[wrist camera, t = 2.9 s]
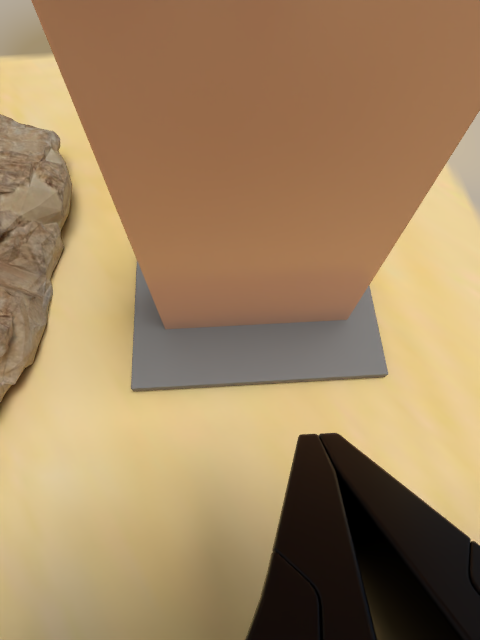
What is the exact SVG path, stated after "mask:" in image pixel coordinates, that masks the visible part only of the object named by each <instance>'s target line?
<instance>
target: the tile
mask: <svg viewBox="0 0 480 640" xmlns="http://www.w3.org/2000/svg"><path fill="white" fill-rule="evenodd" d="M32 3H33V5H34V7H35V10H36V13H37V15H38V17H39V20H40V22H41V25H42V27H43V30H44V32H45V35H46V37H47V40H48V42H49V45H50V47H51V49H52V52H53V54H54V57H55V59H56V62H57V64H58V67H59V69H60V72H61V74H62V77H63V79H64V81H65V84H66V86H67V89H68V91H69V94H70V96H71V99H72V101H73V104H74V106H75V108H76V111H77V113H78V116H79V118H80V121H81V123H82V126H83V128H84V131H85V133H86V136H87V138H88V140H89V143H90V145H91V148H92V150H93V153H94V155H95V158H96V160H97V163H98V165H99V167H100V170H101V172H102V175H103V177H104V180H105V182H106V185H107V187H108V190H109V192H110V195H111V197H112V199H113V202H114V204H115V207H116V209H117V212H118V214H119V217H120V219H121V222H122V224H123V226H124V229H125V231H126V234H127V236H128V239H129V241H130V244H131V246H132V249H133V251H134V254H135V256H136V258H137V261H138V263H139V266H140V268H141V271H142V273H143V276H144V278H145V281H146V283H147V285H148V288H149V290H150V293H151V295H152V298H153V300H154V303H155V305H156V308H157V310H158V313H159V315H160V317H161V320H162V322H163V325H164V327H165V329H181V328H200V327H219V326H238V325H258V324H277V323H296V322H315V321H334V320H347V319H348V318H349V316H350V315H351V313H352V311H353V310H354V308H355V307H356V305H357V303H358V302H359V300H360V299H361V297H362V296H363V294H364V292H365V291H366V289H367V288H368V286H369V285H370V283H371V281H372V280H373V278H374V277H375V275H376V273H377V272H378V270H379V269H380V267H381V266H382V264H383V262H384V261H385V259H386V258H387V256H388V254H389V253H390V251H391V250H392V248H393V247H394V245H395V243H396V242H397V240H398V239H399V237H400V235H401V234H402V232H403V231H404V229H405V228H406V226H407V224H408V223H409V221H410V220H411V218H412V217H413V215H414V213H415V212H416V210H417V209H418V207H419V205H420V204H421V202H422V201H423V199H424V198H425V196H426V194H427V193H428V191H429V190H430V188H431V186H432V185H433V183H434V182H435V180H436V179H437V177H438V175H439V174H440V172H441V171H442V169H443V168H444V166H445V164H446V163H447V161H448V160H449V158H450V156H451V155H452V153H453V152H454V150H455V148H456V147H457V145H458V144H459V142H460V140H461V139H462V137H463V136H464V134H465V133H466V131H467V130H468V128H469V126H470V125H471V123H472V122H473V120H474V118H475V117H476V115H477V114H478V112H479V111H480V0H32Z"/></svg>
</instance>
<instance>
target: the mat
mask: <svg viewBox="0 0 480 640" xmlns="http://www.w3.org/2000/svg"><path fill="white" fill-rule="evenodd" d="M386 375H388V371H387V366H386V361H385V357H384V352H383V347H382V343H381V338H380V333H379V329H378V324H377V319H376V315H375V310H374V305H373V301H372V296H371V291H370V287H369V286H368V288H367V289H366V291H365V292H364V294H363V296H362V297H361V299H360V300H359V302H358V303H357V305H356V307H355V308H354V310H353V311H352V313H351V315H350V316H349V318H348V319H347V320H334V321H315V322H296V323H277V324H258V325H238V326H219V327H200V328H181V329H165V327H164V325H163V322H162V320H161V317H160V315H159V313H158V310H157V308H156V305H155V303H154V300H153V298H152V295H151V293H150V290H149V288H148V285H147V283H146V281H145V278H144V276H143V273H142V271H141V268H140V266H139V263H138V261H137V272H136V294H135V316H134V337H133V359H132V381H131V389H132V390H133V391H149V390H166V389H183V388H201V387H218V386H235V385H253V384H270V383H287V382H305V381H322V380H340V379H357V378H374V377H385V376H386Z"/></svg>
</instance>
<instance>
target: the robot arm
mask: <svg viewBox="0 0 480 640" xmlns="http://www.w3.org/2000/svg"><path fill="white" fill-rule="evenodd" d="M470 542H471V543H470ZM245 640H480V545H478V544H477V543H476V542H475V541H471V540H470V538H469V537H468V536H467V535H466V534H464V533H463V532H462V531H461V530H459V529H458V528H457V527H456V526H454V525H453V524H452V523H450V522H449V521H448V520H447V519H445V518H444V517H443V516H442V515H440V514H439V513H438V512H437V511H435V510H434V509H433V508H432V507H430V506H429V505H428V504H426V503H425V502H424V501H423V500H421V499H420V498H419V497H418V496H416V495H415V494H414V493H413V492H411V491H410V490H409V489H408V488H406V487H405V486H404V485H402V484H401V483H400V482H399V481H397V480H396V479H395V478H394V477H392V476H391V475H390V474H389V473H387V472H386V471H385V470H384V469H382V468H381V467H380V466H379V465H377V464H376V463H375V462H373V461H372V460H371V459H370V458H368V457H367V456H366V455H365V454H363V453H362V452H361V451H360V450H358V449H357V448H356V447H355V446H353V445H352V444H351V443H349V442H348V441H347V440H346V439H344V438H343V437H342V436H341V435H339V434H337V433H325V434H320V435H319V436H318V435H317V434H302V435H299V437H298V441H297V445H296V450H295V454H294V458H293V463H292V467H291V471H290V476H289V480H288V485H287V489H286V493H285V498H284V502H283V507H282V511H281V515H280V520H279V524H278V528H277V533H276V537H275V542H274V546H273V553H272V554H271V558H270V562H269V567H268V571H267V575H266V579H265V582H264V586H263V590H262V593H261V597H260V600H259V603H258V606H257V608H256V611H255V614H254V617H253V620H252V623H251V626H250V628H249V631H248V634H247V636H246V639H245Z"/></svg>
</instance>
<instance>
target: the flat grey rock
mask: <svg viewBox="0 0 480 640" xmlns="http://www.w3.org/2000/svg"><path fill="white" fill-rule="evenodd" d="M59 148H60V138H59V136H58V135H57V134H56V133H55V132H53V131H49V130H44V129H40V128H36V127H33V126H30V125H25V124H20V123H18V122H16V121H14V120H12V119H11V118H8V117H6V116H3V115H0V402H1V400H2V398H3V396H4V394H5V393H6V392H7V390H8V389H9V388H10V387H11V385H12V384H13V385H15V383H16V382H17V380H18V378H19V377H20V375H21V373H22V372H23V370H24V369H25V368H26V367H28V366H29V365H31V364H33V361H34V358H35V354H36V351H37V348H38V345H39V342H40V340H41V338H42V335H43V332H44V329H45V327H46V324H47V317H48V307H49V303H50V301H51V298H52V295H53V288H52V284H51V280H50V279H51V275H52V272H53V270H54V268H55V266H56V265H57V263H58V261H59V258H60V256H61V253H62V250H63V248H64V246H63V243H62V240H61V232H60V231H61V229H62V227H63V225H64V222H65V220H66V218H67V216H68V214H69V209H70V199H71V190H72V183H71V179H70V176H69V173H68V170H67V167H66V163H65V161H64V160H63V158H62V157H61V155H60V154H59V151H58V150H59Z"/></svg>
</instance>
